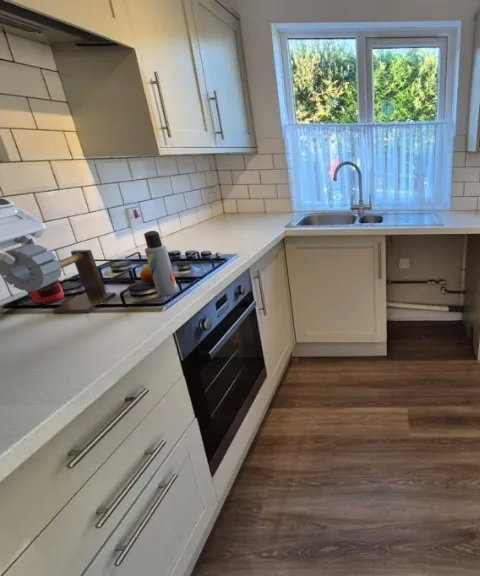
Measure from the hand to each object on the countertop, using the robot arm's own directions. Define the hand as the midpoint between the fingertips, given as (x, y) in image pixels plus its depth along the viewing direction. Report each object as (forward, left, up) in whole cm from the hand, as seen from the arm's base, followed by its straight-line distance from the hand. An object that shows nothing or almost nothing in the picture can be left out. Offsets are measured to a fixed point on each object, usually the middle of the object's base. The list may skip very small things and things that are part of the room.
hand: (28, 256), depth 84 cm
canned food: (-15, +28, -21) cm, 38 cm away
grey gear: (-1, 0, -8) cm, 8 cm away
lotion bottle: (+20, +21, -21) cm, 36 cm away
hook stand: (-2, +20, -21) cm, 29 cm away
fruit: (+14, +33, -21) cm, 42 cm away
